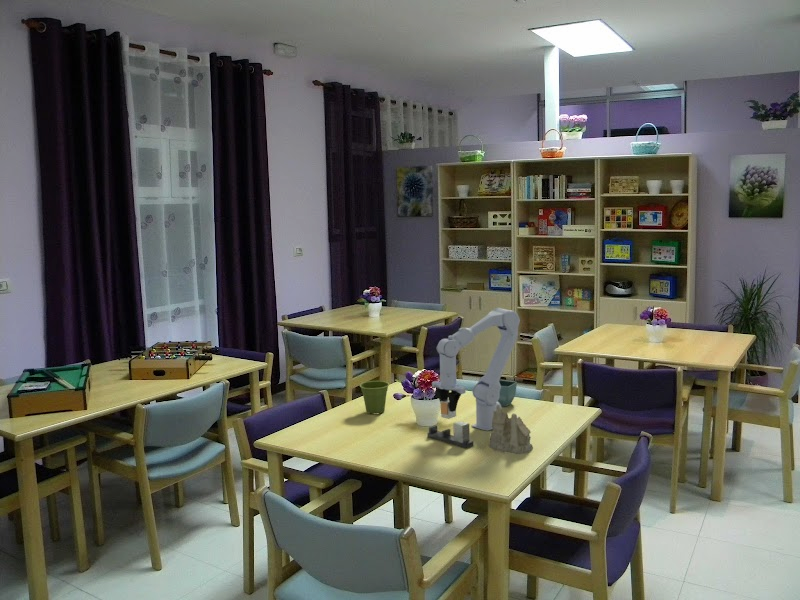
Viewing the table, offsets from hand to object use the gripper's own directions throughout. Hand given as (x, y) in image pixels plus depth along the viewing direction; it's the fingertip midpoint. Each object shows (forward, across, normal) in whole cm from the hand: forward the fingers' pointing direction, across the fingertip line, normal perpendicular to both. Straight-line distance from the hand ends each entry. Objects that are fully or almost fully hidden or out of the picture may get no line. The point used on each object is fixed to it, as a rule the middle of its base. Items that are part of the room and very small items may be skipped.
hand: (448, 409), depth 256 cm
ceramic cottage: (+9, +25, +5) cm, 27 cm away
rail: (+8, +6, -7) cm, 13 cm away
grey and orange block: (+2, 0, 0) cm, 2 cm away
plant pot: (+9, -40, -1) cm, 41 cm away
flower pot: (+9, -9, +41) cm, 43 cm away
